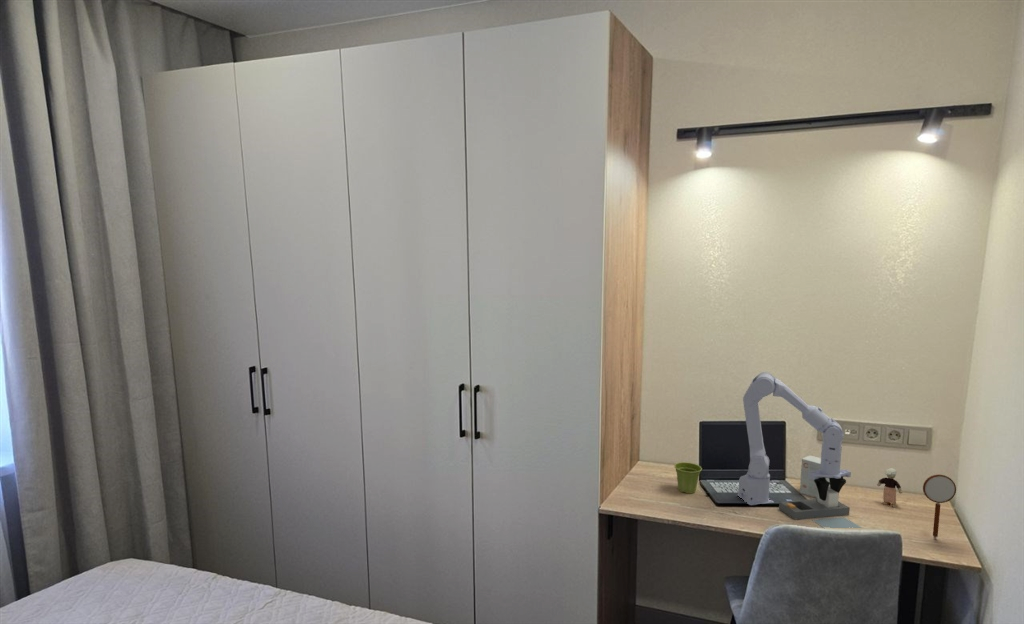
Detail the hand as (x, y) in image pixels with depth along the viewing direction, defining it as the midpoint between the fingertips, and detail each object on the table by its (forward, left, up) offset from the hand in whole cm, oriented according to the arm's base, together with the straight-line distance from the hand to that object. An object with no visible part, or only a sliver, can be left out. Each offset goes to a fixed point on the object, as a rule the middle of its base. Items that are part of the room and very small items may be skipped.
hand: (827, 498), depth 194 cm
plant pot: (-37, +25, -5) cm, 45 cm away
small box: (+6, +13, -5) cm, 15 cm away
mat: (-4, -10, -5) cm, 12 cm away
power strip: (-5, 0, -5) cm, 7 cm away
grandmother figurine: (+26, +2, -5) cm, 27 cm away
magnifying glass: (+19, -22, -5) cm, 29 cm away
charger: (0, 0, -4) cm, 4 cm away
